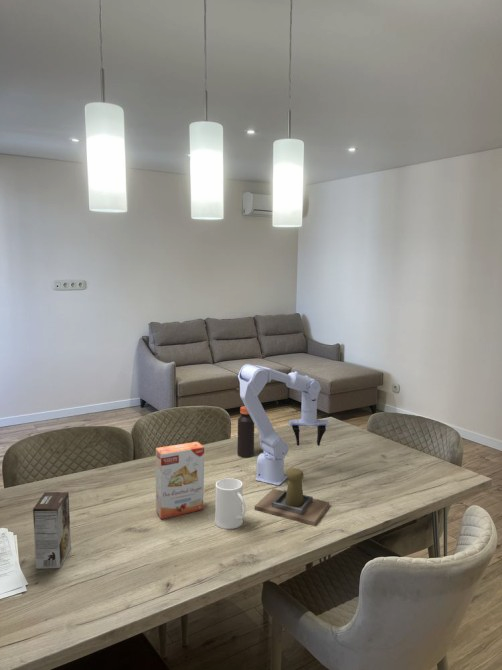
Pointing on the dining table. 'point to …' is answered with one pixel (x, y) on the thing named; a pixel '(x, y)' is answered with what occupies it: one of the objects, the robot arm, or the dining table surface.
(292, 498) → the cork
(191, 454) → the cracker box
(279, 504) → the wooden socket base
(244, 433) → the bottle
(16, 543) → the dining table surface
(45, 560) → the coffee box
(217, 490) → the mug
